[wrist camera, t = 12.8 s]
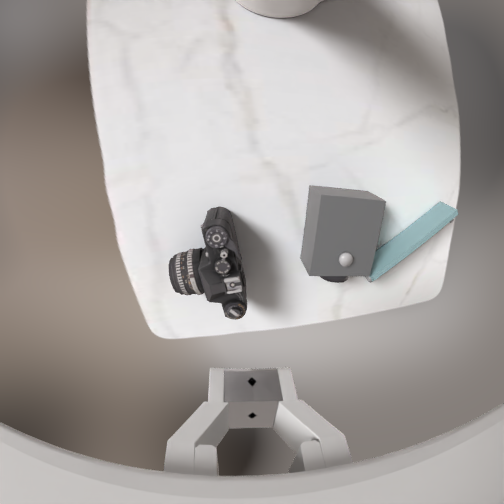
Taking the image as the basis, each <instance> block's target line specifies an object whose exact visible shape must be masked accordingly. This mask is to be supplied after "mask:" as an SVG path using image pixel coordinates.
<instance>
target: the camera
mask: <svg viewBox="0 0 504 504" xmlns="http://www.w3.org/2000/svg"><path fill="white" fill-rule="evenodd" d="M201 228H202V233H203V237H204V241H205V245H206V247H205V248H204V249H202V248H199V249H190V250H189V251H187V252H181V253H178V254H176V255H174V256H173V258H171V259H170V261H169V276H170V281H171V284H172V286H173V289H174V290H175V292H177V293H180V294H181V295H182V294H185V295H191V294H197V295H200V294H203V293H205V295H206V298H207V301H209V302H215V303H222V307H223V310H224V313H225V317H228V318H230V319H240V318H242V317H243V316H244V315H245V313H246V310H247V299H246V282H245V276H244V272H243V267H242V262H241V259H242V258H241V255H240V253H239V248H238V243H237V238H236V234H235V229H234V225H233V221H232V216H231V214H230V212H229V211H228V210H227V209H226V208H223V207H216V208H211V209H210V210H209V211H207V216H206V219H205V222H204V223H203V225H201Z"/></svg>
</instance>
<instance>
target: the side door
mask: <svg viewBox="0 0 504 504" xmlns="http://www.w3.org/2000/svg"><path fill="white" fill-rule="evenodd" d="M457 215H458V212H457V209H455V208H453V207H451V206H449V205H447V204H445V203H443V202H441V201H440V202H439V203H438V204H437V205H435V206H434V207H433V208H432V209H430V210H429V211H428V212H427V213H425V214H424V215H423V216H422V217H420V218H419V219H418V220H417V221H415V222H414V223H413V224H411V225H410V226H409V227H408V228H406V229H405V230H404V231H402V232H401V233H400V234H398V235H397V236H396V237H394V238H393V239H392V240H390V241H389V242H388V243H386V244H385V245H384V246H382V247H381V248H380V249H378V250H377V251H376V252H375V256H374V260H373V264H372V268H371V272H370V276H365V277H366V279H367V280H368V281H369V282H373V281H374V280H376V279H377V278H378V277H380V276H381V275H382V274H384V273H385V272H387V271H388V270H389V269H391V268H392V267H393V266H395V265H396V264H397V263H399V262H400V261H401V260H403V259H404V258H405V257H407V256H408V255H409V254H411V253H412V252H413V251H414V250H416V249H417V248H418V247H419V246H421V245H422V244H423V243H424V242H426V241H427V240H428V239H429V238H431V237H432V236H433V235H434V234H436V233H437V232H438V231H439V230H440V229H442V228H443V227H444V226H445V225H446V224H448V223H449V222H450V223H451V222H452V221H453V218H455V217H456V216H457Z"/></svg>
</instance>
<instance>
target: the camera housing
mask: <svg viewBox="0 0 504 504" xmlns="http://www.w3.org/2000/svg"><path fill="white" fill-rule="evenodd" d="M385 203H386V201H385V200H383V199H381V198H379V197H378V196H376V195H374V194H372V193H370V192H368V191H361V190H352V189H342V188H332V187H321V186H309V194H308V203H307V212H306V220H305V228H304V236H303V243H302V251H301V260H302V262H303V264H304V266H305V268H306V270H307V272H308V274H309V276H320V277H321V278H323V279H324V280H327V281H330V282H337V283H339V282H344V281H346V280H347V279H348V276H370V272H371V268H372V264H373V260H374V256H375V252H376V247H377V243H378V238H379V234H380V229H381V224H382V219H383V214H384V209H385Z"/></svg>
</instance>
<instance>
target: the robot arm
mask: <svg viewBox="0 0 504 504" xmlns="http://www.w3.org/2000/svg"><path fill="white" fill-rule="evenodd" d="M236 1H237V2H238V3H239V4H240V5H242V6H243V7H244V8H246V9H248V10H250V11H252V12H254V13H257V14H260V15H264V16H268V17H276V18H288V17H295V16H299V15H302V14H305V13H307V12H309V11H310V10H312V9H313V8H314V7H315V6H316V5H317V4H318V3H320V2H321V1H324V0H236ZM267 427H273V429H274V430H275V431H276V432H277V434H278V435H279V436H280V437H281V438H282V439H283V440H284V442H285V443H286V444H287V445H288V446H289V447H290V448H291V450H292V451H293V452H294V453H295V454H296V456H295V458H294V460H293V462H292V464H291V466H290V468H289V473H285V474H274V475H257V476H219V471H218V460H217V450H216V447H217V445H218V444H219V442H220V441H221V440H222V438H223V437H224V435H225V434H226V433H227V431H228V430H229V428H267ZM0 504H504V403H503V404H501V405H499V406H497V407H496V408H494V409H492V410H490V411H489V412H487V413H485V414H483V415H481V416H479V417H478V418H476V419H474V420H472V421H470V422H468V423H466V424H464V425H461V426H459V427H457V428H455V429H453V430H451V431H448V432H446V433H444V434H441V435H439V436H437V437H434V438H432V439H429V440H427V441H424V442H421V443H419V444H416V445H413V446H410V447H407V448H404V449H401V450H398V451H395V452H392V453H388V454H385V455H382V456H378V457H374V458H370V459H367V460H362V461H358V462H354V463H353V461H352V458H351V454H350V451H349V448H348V445H347V442H346V439H345V435H344V434H343V433H341V432H340V431H339V430H338V429H336V428H335V427H334V426H333V425H331V424H330V423H329V422H328V421H327V420H325V419H324V418H323V417H322V416H321V415H319V414H318V413H317V412H316V411H315V410H313V409H312V408H311V407H310V406H309V405H307V404H306V403H305V402H304V401H303V400H298V396H297V392H296V387H295V383H294V379H293V375H292V371H291V368H290V367H288V368H259V369H231V368H229V369H228V368H210V377H209V395H208V402H204V403H203V404H202V405H201V406H200V407H199V408H198V409H197V410H196V411H195V413H194V414H193V415H192V416H191V417H190V418H189V419H188V420H187V421H186V422H185V423H184V424H183V425H182V426H181V427H180V428H179V430H178V431H177V432H176V433H175V434H174V435H173V436H172V437H171V438H170V439H169V440H168V441H167V449H166V457H165V465H164V472H162V471H154V470H148V469H142V468H136V467H131V466H126V465H120V464H116V463H112V462H108V461H103V460H99V459H96V458H92V457H88V456H85V455H81V454H78V453H75V452H71V451H69V450H66V449H63V448H60V447H57V446H54V445H51V444H48V443H46V442H43V441H41V440H38V439H36V438H33V437H31V436H29V435H26V434H24V433H22V432H20V431H18V430H15V429H13V428H11V427H9V426H7V425H5V424H3V423H1V422H0Z"/></svg>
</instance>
